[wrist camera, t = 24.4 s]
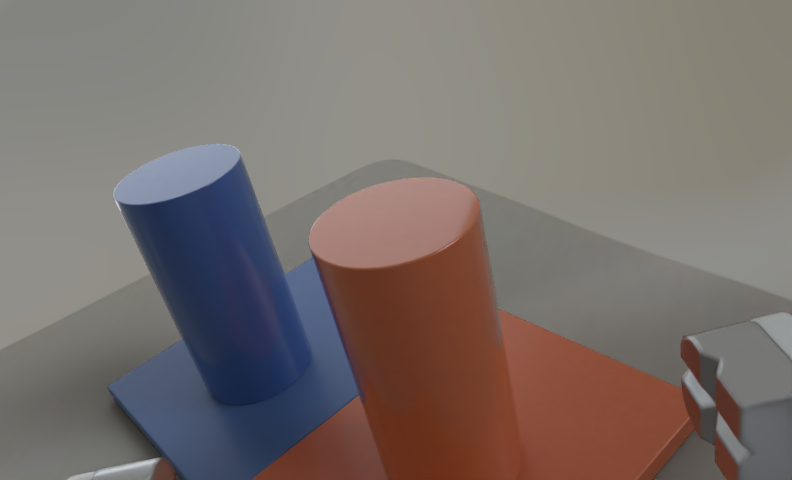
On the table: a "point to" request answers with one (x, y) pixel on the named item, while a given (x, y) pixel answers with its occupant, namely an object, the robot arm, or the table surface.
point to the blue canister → (217, 271)
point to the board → (349, 430)
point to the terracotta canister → (421, 328)
